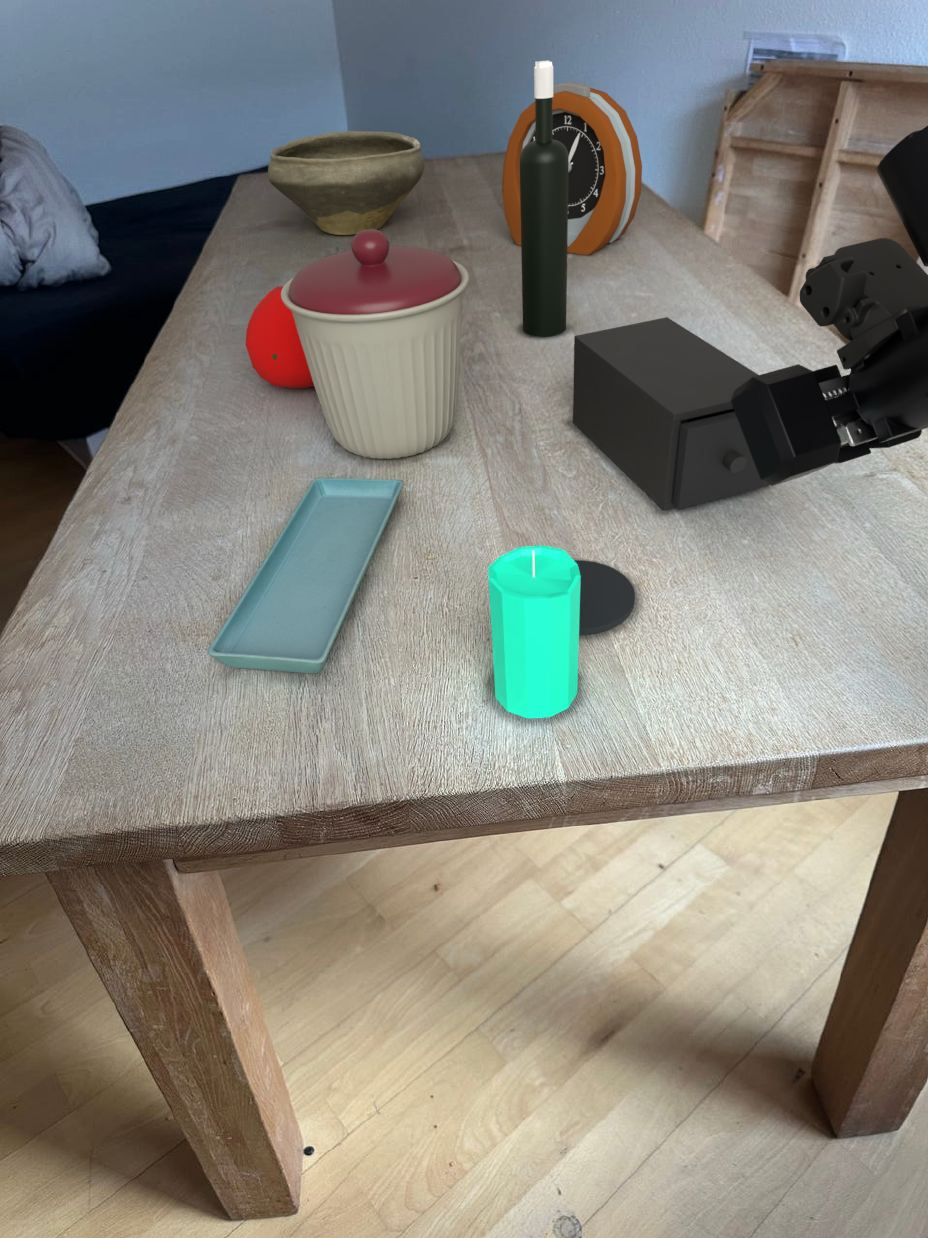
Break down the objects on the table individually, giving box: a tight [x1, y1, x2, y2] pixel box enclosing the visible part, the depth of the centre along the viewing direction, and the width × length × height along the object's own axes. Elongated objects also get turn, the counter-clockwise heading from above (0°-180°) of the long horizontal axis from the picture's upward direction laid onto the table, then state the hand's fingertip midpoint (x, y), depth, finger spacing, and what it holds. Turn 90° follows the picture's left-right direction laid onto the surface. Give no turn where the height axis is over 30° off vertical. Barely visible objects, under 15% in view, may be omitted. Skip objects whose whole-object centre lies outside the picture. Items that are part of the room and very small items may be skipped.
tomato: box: [245, 285, 315, 389], centre depth 101 cm, size 13×13×13 cm
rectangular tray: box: [207, 477, 405, 674], centre depth 72 cm, size 26×9×2 cm, turn 170°
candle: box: [487, 544, 581, 719], centre depth 57 cm, size 6×6×12 cm
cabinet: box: [572, 316, 759, 512], centre depth 82 cm, size 20×11×10 cm, turn 19°
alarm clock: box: [501, 81, 643, 256], centre depth 135 cm, size 22×10×23 cm, turn 53°
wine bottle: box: [520, 59, 569, 338], centre depth 103 cm, size 6×6×30 cm
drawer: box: [672, 409, 770, 510], centre depth 80 cm, size 20×9×8 cm, turn 19°
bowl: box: [267, 130, 425, 236], centre depth 153 cm, size 28×28×14 cm
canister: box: [281, 229, 470, 460], centre depth 85 cm, size 18×18×21 cm
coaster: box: [573, 559, 636, 636], centre depth 68 cm, size 9×9×1 cm
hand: (794, 444), depth 60 cm, fingers closed
